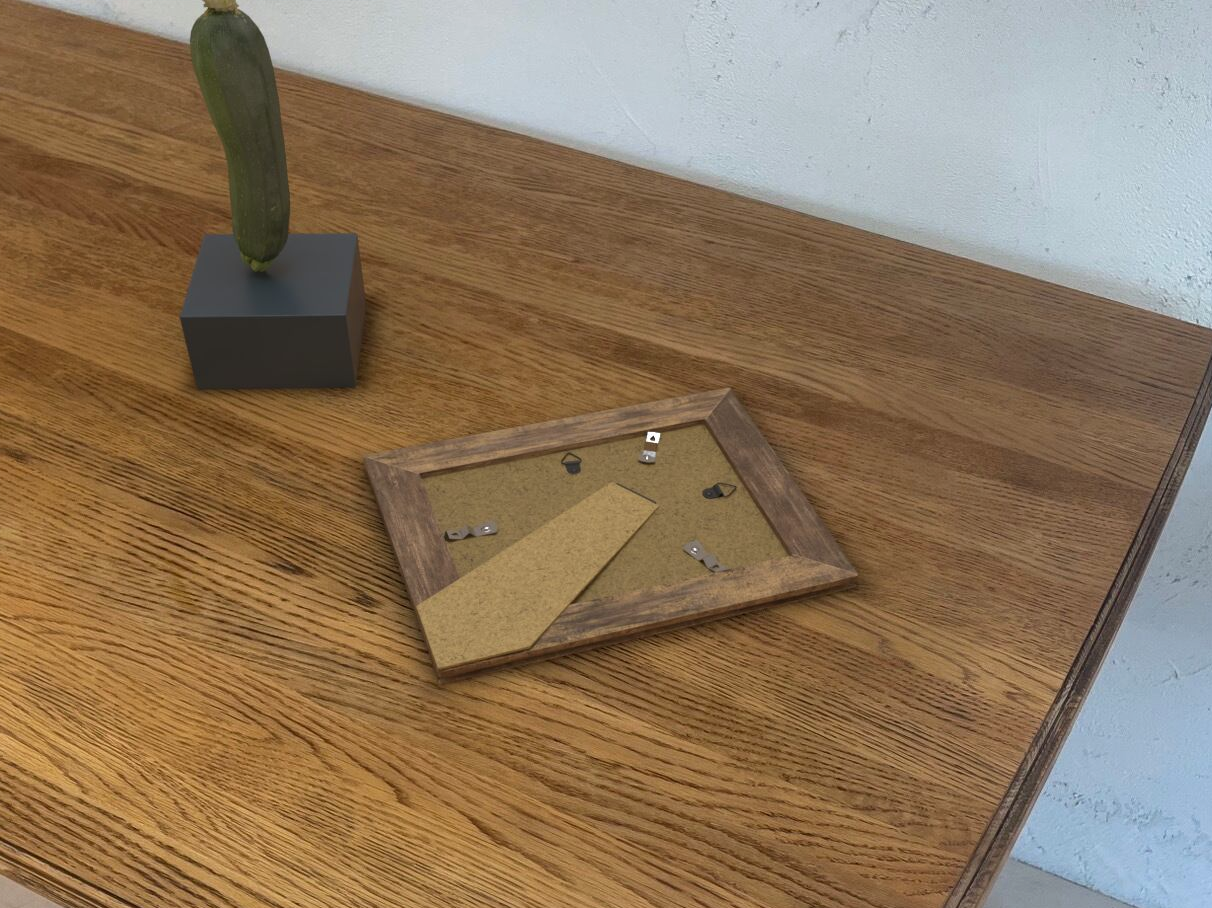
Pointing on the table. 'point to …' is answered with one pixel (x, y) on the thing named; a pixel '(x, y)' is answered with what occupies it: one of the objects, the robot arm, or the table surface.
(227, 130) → the vegetable
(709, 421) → the picture frame
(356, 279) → the block
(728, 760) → the table surface
